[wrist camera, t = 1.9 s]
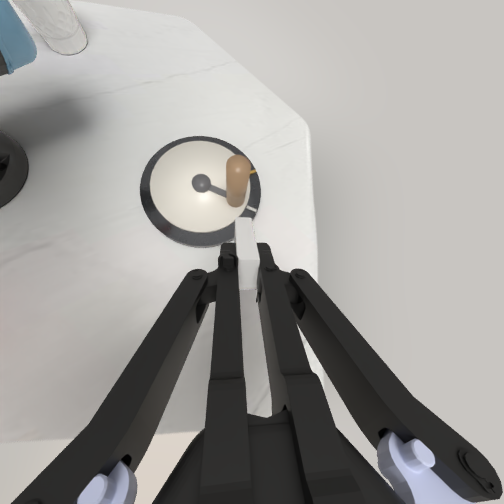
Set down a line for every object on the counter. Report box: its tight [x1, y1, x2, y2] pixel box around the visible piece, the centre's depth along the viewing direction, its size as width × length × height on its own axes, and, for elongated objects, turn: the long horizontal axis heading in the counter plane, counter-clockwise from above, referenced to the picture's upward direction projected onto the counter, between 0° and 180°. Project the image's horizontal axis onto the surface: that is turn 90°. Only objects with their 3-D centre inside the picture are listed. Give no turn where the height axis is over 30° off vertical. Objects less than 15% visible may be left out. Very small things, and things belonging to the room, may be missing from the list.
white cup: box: [12, 0, 87, 55], centre depth 32 cm, size 8×8×10 cm
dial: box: [150, 141, 251, 233], centre depth 28 cm, size 16×16×10 cm
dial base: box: [140, 136, 261, 248], centre depth 34 cm, size 20×20×2 cm
